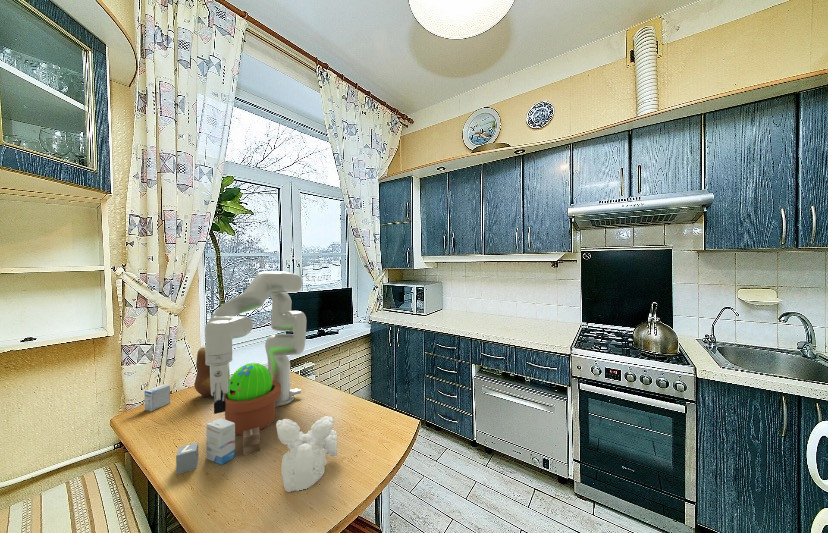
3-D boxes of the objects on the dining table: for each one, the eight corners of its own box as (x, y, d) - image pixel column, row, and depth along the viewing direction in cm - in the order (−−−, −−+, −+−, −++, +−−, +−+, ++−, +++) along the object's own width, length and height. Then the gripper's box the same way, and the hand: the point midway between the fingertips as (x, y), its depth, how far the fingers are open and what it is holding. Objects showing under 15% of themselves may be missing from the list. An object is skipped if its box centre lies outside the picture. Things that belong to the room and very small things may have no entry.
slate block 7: (198, 459, 98) (198, 441, 98) (196, 468, 94) (195, 450, 94) (179, 464, 96) (179, 446, 96) (176, 474, 91) (176, 455, 91)
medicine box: (163, 402, 139) (163, 383, 138) (170, 403, 137) (170, 384, 137) (144, 410, 131) (143, 391, 131) (151, 411, 130) (151, 392, 130)
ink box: (236, 456, 100) (236, 422, 100) (221, 465, 95) (220, 429, 95) (220, 449, 103) (220, 416, 103) (205, 458, 99) (204, 423, 99)
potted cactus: (255, 405, 135) (254, 351, 134) (292, 415, 126) (291, 357, 126) (205, 431, 114) (204, 368, 114) (245, 445, 106) (244, 376, 105)
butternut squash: (232, 393, 147) (231, 344, 146) (201, 404, 136) (200, 351, 135) (219, 387, 154) (218, 340, 154) (188, 397, 143) (187, 346, 142)
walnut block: (259, 443, 107) (259, 426, 107) (259, 450, 103) (259, 433, 103) (243, 447, 105) (243, 430, 105) (243, 455, 100) (242, 437, 100)
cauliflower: (268, 479, 77) (277, 408, 93) (271, 511, 87) (279, 442, 103) (342, 466, 83) (339, 402, 99) (336, 497, 93) (334, 434, 109)
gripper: (231, 362, 94) (232, 419, 94) (233, 350, 107) (233, 400, 107) (202, 366, 90) (203, 425, 90) (208, 353, 103) (209, 405, 103)
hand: (220, 411), depth 99 cm, fingers closed
